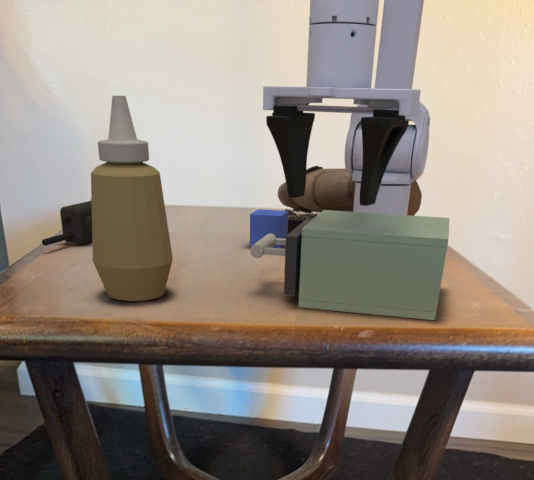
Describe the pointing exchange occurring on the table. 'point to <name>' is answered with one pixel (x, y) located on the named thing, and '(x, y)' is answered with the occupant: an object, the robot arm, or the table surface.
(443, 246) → the drawer cabinet
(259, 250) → the grey drawer
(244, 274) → the table surface
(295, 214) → the knife
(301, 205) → the boot
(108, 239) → the squeeze bottle
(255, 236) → the blue rounded cube
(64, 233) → the walkie-talkie
